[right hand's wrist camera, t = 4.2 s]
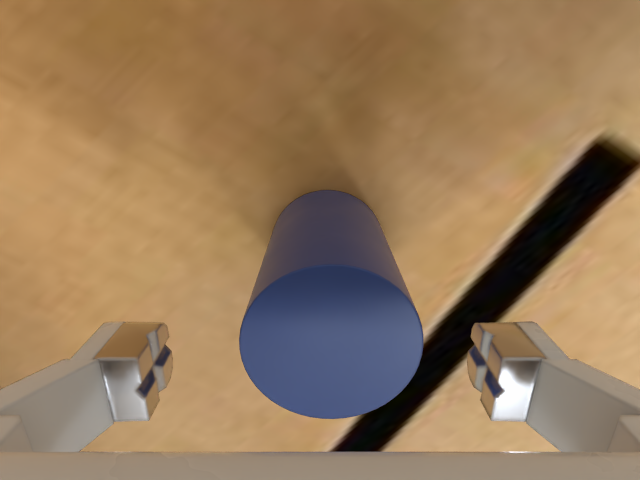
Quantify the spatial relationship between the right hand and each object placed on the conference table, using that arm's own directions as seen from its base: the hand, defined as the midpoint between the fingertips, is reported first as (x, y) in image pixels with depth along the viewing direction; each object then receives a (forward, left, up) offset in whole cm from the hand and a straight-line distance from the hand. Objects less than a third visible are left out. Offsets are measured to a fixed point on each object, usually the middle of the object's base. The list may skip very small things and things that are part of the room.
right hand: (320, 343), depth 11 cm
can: (0, 0, -8) cm, 8 cm away
